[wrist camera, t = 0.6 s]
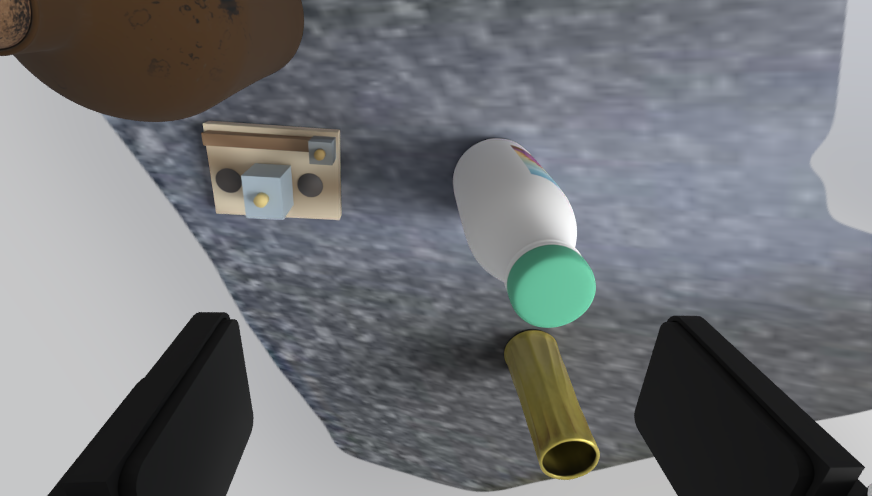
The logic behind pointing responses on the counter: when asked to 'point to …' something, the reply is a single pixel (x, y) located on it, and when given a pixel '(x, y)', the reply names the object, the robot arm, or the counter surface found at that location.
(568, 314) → the milk bottle
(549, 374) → the vase
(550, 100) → the counter surface
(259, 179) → the blue block with knob
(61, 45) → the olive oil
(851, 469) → the robot arm
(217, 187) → the board
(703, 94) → the counter surface
